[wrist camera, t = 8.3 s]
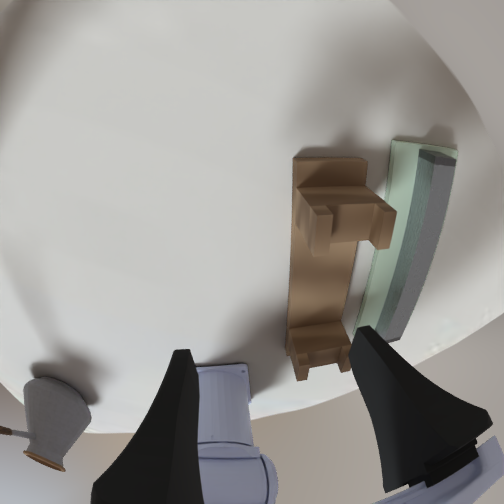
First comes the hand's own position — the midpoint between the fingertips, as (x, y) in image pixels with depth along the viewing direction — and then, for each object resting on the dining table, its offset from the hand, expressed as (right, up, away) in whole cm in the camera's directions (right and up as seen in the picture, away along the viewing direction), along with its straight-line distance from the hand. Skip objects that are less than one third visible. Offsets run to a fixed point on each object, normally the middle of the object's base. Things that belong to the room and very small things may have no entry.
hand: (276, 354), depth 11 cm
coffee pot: (-30, -12, +16) cm, 37 cm away
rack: (+4, +3, +11) cm, 12 cm away
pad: (+13, +4, +11) cm, 18 cm away
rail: (+13, +4, +11) cm, 17 cm away
